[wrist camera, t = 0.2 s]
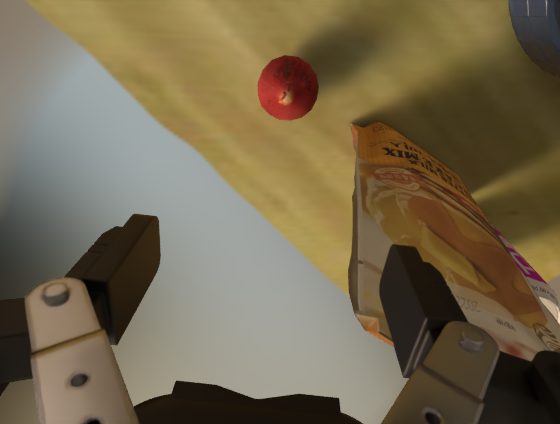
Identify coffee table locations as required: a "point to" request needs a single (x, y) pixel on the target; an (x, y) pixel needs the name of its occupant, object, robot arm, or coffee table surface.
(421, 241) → the pancake mix bag
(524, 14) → the bowl
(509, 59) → the coffee table surface
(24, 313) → the robot arm
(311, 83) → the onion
